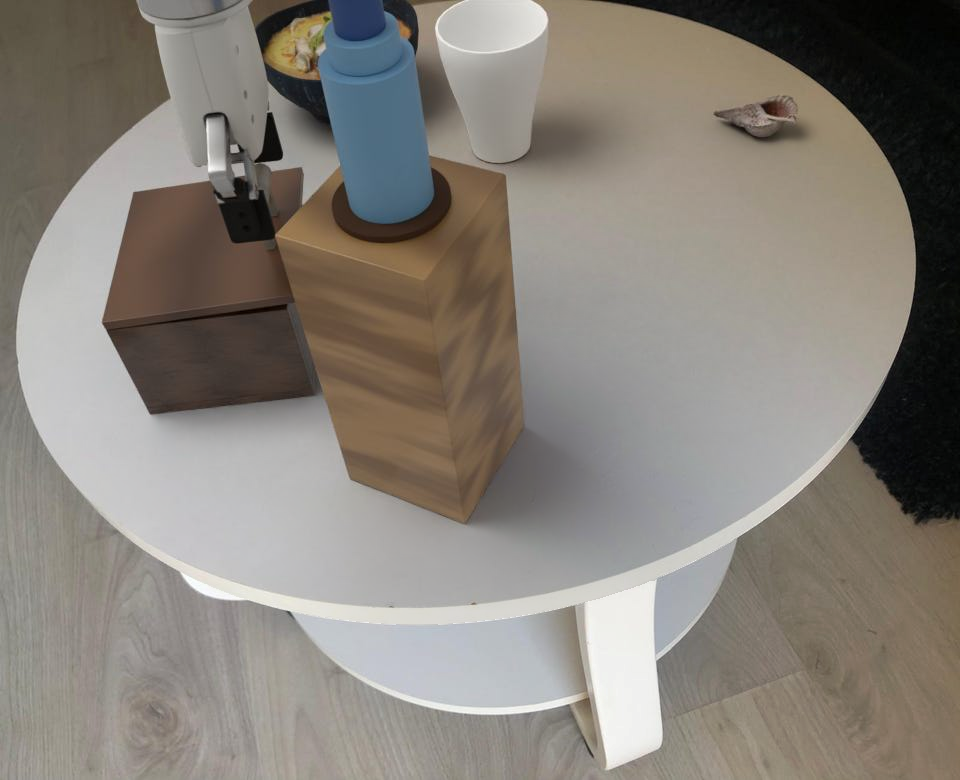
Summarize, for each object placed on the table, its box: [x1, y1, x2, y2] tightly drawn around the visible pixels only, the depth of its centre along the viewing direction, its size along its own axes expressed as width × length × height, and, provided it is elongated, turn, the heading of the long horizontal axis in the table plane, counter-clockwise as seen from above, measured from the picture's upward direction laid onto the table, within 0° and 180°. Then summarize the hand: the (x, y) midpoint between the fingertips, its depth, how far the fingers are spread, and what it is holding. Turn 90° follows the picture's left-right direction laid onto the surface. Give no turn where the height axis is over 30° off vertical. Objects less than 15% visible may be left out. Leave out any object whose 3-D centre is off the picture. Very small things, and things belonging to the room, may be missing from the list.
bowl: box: [254, 0, 420, 125], centre depth 105 cm, size 17×17×10 cm
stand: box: [275, 154, 525, 525], centre depth 67 cm, size 10×10×24 cm
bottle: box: [318, 0, 434, 224], centre depth 53 cm, size 5×5×13 cm
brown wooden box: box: [105, 204, 316, 415], centre depth 83 cm, size 14×16×10 cm
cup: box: [434, 0, 550, 164], centre depth 96 cm, size 10×10×14 cm
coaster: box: [332, 167, 452, 243], centre depth 58 cm, size 7×7×1 cm
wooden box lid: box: [101, 163, 305, 331], centre depth 77 cm, size 14×16×5 cm
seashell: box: [713, 94, 799, 138], centre depth 98 cm, size 4×8×4 cm
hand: (259, 198), depth 75 cm, fingers open, 9 cm apart
